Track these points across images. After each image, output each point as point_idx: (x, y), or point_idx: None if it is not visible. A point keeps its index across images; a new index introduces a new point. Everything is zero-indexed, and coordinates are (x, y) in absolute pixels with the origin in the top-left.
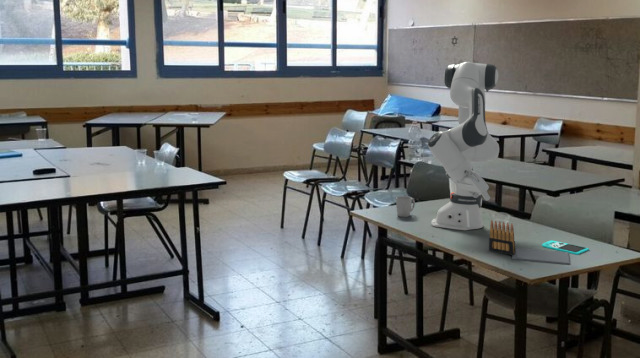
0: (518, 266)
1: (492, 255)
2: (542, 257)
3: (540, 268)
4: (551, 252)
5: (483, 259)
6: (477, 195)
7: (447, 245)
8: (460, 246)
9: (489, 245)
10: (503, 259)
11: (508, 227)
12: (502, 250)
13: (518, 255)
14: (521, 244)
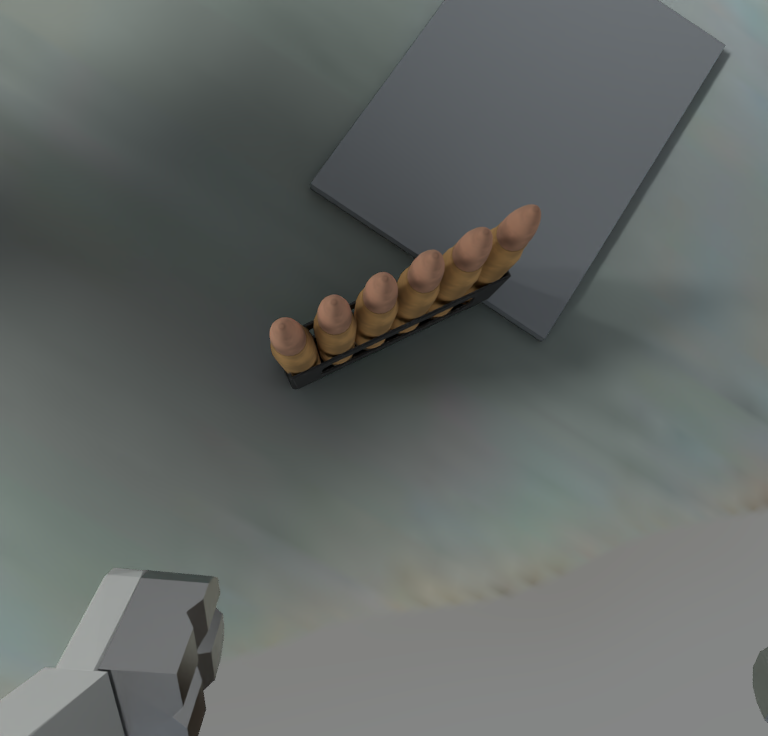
0: (694, 388)
1: (419, 430)
2: (585, 133)
3: (756, 271)
4: (492, 6)
5: (496, 551)
6: (210, 625)
7: None
8: (115, 565)
9: (297, 384)
10: (528, 403)
11: (491, 248)
12: (410, 333)
13: None
14: (216, 62)
